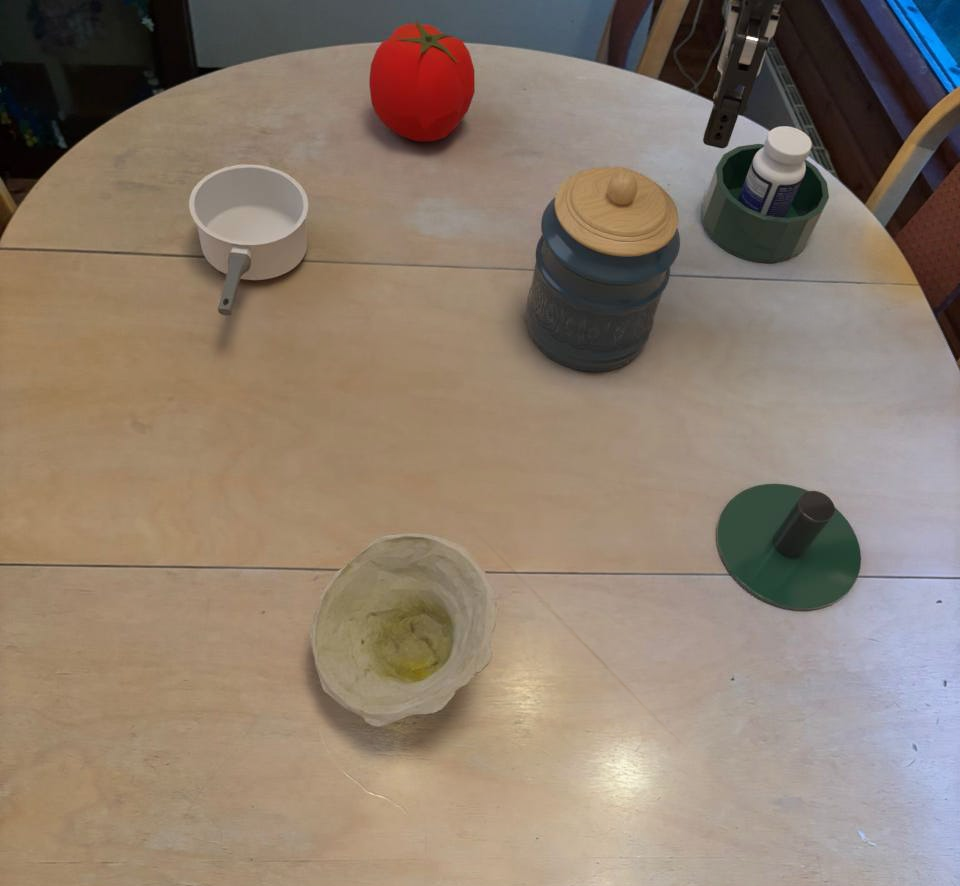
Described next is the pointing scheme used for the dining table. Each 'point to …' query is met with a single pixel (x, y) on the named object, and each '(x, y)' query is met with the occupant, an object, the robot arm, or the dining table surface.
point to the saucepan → (250, 224)
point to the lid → (788, 546)
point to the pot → (751, 229)
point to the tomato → (421, 82)
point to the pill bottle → (776, 172)
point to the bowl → (403, 627)
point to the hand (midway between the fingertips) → (719, 114)
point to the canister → (601, 267)
